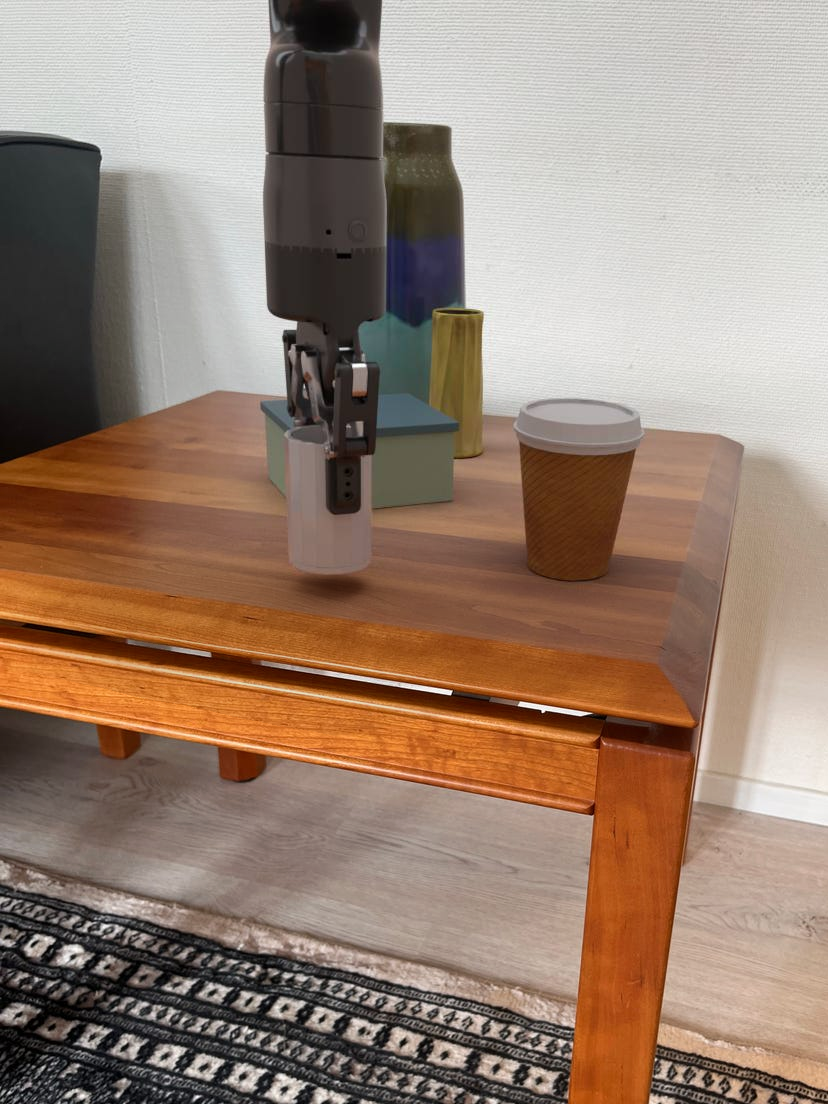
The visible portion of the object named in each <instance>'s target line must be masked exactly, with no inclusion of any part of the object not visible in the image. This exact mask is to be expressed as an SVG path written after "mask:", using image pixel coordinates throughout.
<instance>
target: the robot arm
mask: <svg viewBox="0 0 828 1104" xmlns="http://www.w3.org/2000/svg"><path fill="white" fill-rule="evenodd" d="M267 1H268V19H269V20H268V23H269V42H270V44H269V45H270V46H269V50H268V53H267V55H266V58H265V62H264V72H263V83H262V84H263V86H262V87H263V88H262V89H263V90H262V91H263V96H262V98H263V101H262V102H263V103H264V104H263V117H264V118H263V120H264V143H265V145H264V146H265V152H266V154H265V156H264V157H265V160H264V161H265V162H264V163H265V165H264V177H263V185H262V186H263V187H262V211H263V212H262V213H263V234H264V236H263V237H264V239H263V240H264V241H263V243H264V265H265V290H266V307H267V310H268V312H269V313H270V314H271V315H272V316H274V317H276V318H279V319H282V320H284V321H285V320H286V321H291V322H296V329H283V331H282V335H281V341H282V344H283V345H282V346H283V359H284V371H285V372H284V374H285V375H284V376H285V388H286V389H285V390H286V400H287V404H288V405H287V411H288V413H289V416H290V417H295V420H294V427H300V426H306V425H320V426H321V428H322V434H323V441H324V453H325V455H326V458H325V473H326V508H327V509H328V510H329V511H330V513H332V514H333V515H341V514H352V513H357V512H358V511H359V510H360V508H361V457H365V455H374V453H375V448H376V428H377V411H378V394H379V377H380V369H379V365H378V363H377V362H366V360H365V354H364V351H363V350H361V345H360V336H359V332H358V330H359V326H360V325H361V324H362V323H363V322H365V321H367V322H371V321H375V320H378V319H380V318H381V317H382V316H383V315H384V314H385V311H386V241H387V199H386V189H385V181H384V172H383V161H382V160H380V159H382V158H383V122H384V88H383V78H382V70H381V63H380V43H381V30H382V13H383V0H267ZM347 424H350V426H351V432H352V437H346V426H347Z"/></svg>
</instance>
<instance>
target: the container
mask: <svg viewBox="0 0 828 1104" xmlns="http://www.w3.org/2000/svg"><path fill="white" fill-rule="evenodd" d="M259 402H260V403H259V405H260V411H261V412H262V413H264V426H265V444H266V462H267V463H266V465H267V478H268V479H269V480H270V482H272V484H273V485H274V486H275V487H276V488H277V489H278V491H279V492H281V494H282V495H283V496H284V497H285V498H286V470H285V439H284V435H285V433H286V431H288V430H290V429H293V428H295V427H294V420H295V417H290V416H289V413H288V411H287V405H288V404H287V399H280V400H278V399H277V400H261V401H259ZM347 426H350V424H347ZM455 431H459V422H457V421H455V420H454V419H452V418H450V417H449V416H447V415H445V414H443V413H442V412H440V411H438V410H436V409H435V408H433V407H431V406H429V405H428V404H426V403H424V402H422V401H421V400H419V399H417V398H415V397H414V396H412V395H410V394H408V393H404V394H386V395H378V411H377V428H376V448H375V453H374V455H373V461H372V510H373V509H382V508H392V507H402V506H403V507H404V506H410V505H412V506H413V505H422V504H431V503H432V504H433V503H442V502H452V501H453V498H454V465H455V464H454V463H455V462H454V461H455V458H454V432H455Z"/></svg>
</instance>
